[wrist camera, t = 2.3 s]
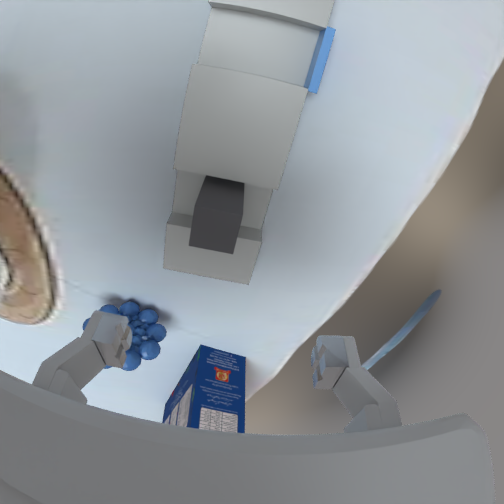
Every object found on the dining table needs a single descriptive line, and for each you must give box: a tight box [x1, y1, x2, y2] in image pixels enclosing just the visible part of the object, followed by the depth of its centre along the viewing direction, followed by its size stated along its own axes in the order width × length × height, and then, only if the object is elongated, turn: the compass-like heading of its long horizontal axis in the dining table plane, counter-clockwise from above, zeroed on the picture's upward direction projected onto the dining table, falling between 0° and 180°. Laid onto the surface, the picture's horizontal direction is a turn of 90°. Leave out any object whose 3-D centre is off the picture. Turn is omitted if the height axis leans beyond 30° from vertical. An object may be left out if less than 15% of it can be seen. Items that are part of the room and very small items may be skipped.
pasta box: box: [162, 345, 246, 433], centre depth 44 cm, size 28×8×28 cm, turn 155°
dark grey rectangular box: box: [189, 175, 245, 254], centre depth 28 cm, size 4×4×7 cm
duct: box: [163, 0, 336, 285], centre depth 26 cm, size 11×34×4 cm, turn 166°
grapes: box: [83, 302, 167, 371], centre depth 37 cm, size 12×7×12 cm, turn 69°
